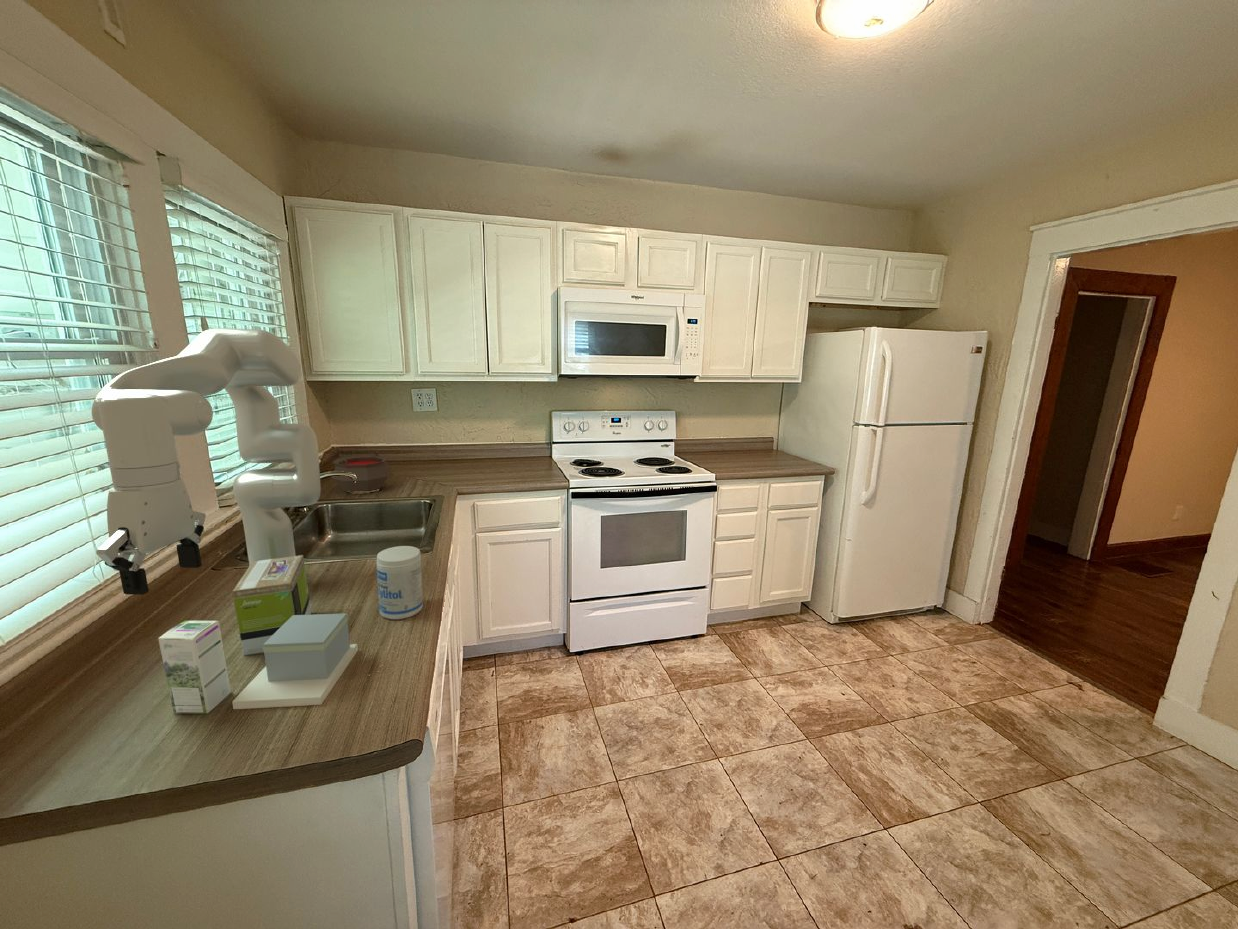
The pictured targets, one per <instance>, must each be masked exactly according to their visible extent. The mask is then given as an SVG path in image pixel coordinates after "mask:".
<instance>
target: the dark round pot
mask: <svg viewBox="0 0 1238 929" xmlns="http://www.w3.org/2000/svg"><path fill="white" fill-rule="evenodd" d="M379 454H380V451H378V449H374V451H373V454H371V455H370V454H368V455H367V454H364V455H363V454H361V455H360V454H358V455H352V456H350V455H349V456H345V457H341V458H340V457H339V458H337V459H336V460H334V461H332V464H333V465H334V469H333V472H334V471H344V472H352V473H355V474H356V475H357V481H356V483H354V482H353V480H352V479H351V478H350V477H348V476H344V475H340V476H332V475H331V477H330V478H331V480H332V481H333V482H335V483H336V485H338V487H339V488H340V489H341V490H342V491H343V492H345V491H350V492H354V491H372V490H377V489H380V488H381V487H382V488H383V487H384V485H385V483H386V482H387V480H388V479H389V477H390V476H391V474H392V472H393V470H392V469H391V467H390V466H389V463H388V462H387V460H388V459H389V457H388V456H385V455H384V456H382V455H379ZM382 488H381V489H382ZM381 489H380V490H381Z"/></svg>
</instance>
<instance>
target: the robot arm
mask: <svg viewBox="0 0 1238 929" xmlns="http://www.w3.org/2000/svg"><path fill="white" fill-rule="evenodd" d="M301 375H302V366H301V362H300V360H299V358H298V356H297V354H296V353H295V352H294V350H292V349H291V347H289V346H288V345H287V344H286V343H285V342H284V341H283V340H282V339H281V338H279V337H278V336H277V335H275V334H273V333H272V332H270V331H268V330H263V329H253V328H252V329H249V328H248V329H247V328H229V327H217V328H216V327H215V328H209V329H206V330H203V331H202V332H201V333H199V334H198V335H197V336H196V337H195V338H193V340H192V341H191V342H189V344H188V345H187V346H186V347H185V348H184V349H183V350H182V351H181V352H180V353H179V354H177V355H176V356H173V357H168V358H164V359H161V360H157V361H155V362H151V363H149V364H146V365H145V364H144V365H142V366H141V365H140V366H139V367H135V368H132V369H129V370H127V371H124V372H122V373H120V374H119V375H117V376H116V377H114V378H113V379H112V380H111V381H109V382H108V383H107V384H106V385H105V386H104V387H102V388H101V389H100V390H99V392H98V393H97V394H96V396H95V398H94V399H93V402H92V405H91V418H92V421H93V423H94V424H95V425H96V427H97V428H98V429H99V430H101V431H102V433H103V438H104V443H105V449H106V455H107V460H108V464H109V471H110V475H111V482H112V485H113V489H109V490H108V494H107V503H106V517H107V518H106V520H107V531H108V539H106V541H105V542H104V543H103V544H102V545H101V546H99V547H98V548H97V550H96V551H95V552H96V553H95V554H96V555H97V556H98V558H100V559H101V560H102V561H103V562H104V564H105V565H106V566H107V567H110V568H112V569H113V571H114V572H119V576H120V577H119V578H120V581H121V587H122V592H123V594H125V595H142V596H143V595H146V594H148V593H149V585H148V578H147V574H146V569H145V568H142V567H141V566H142V564H143V561H144V560H145V558H146V555H147V554H149V553H153V552H155V551H158V550H161V549H163V548H165V547H168V546H170V545H173V544H176V543H177V542H178V543H179V544H176V554H177V558H178V563H179V567H180V568H183V569H184V568H186V569H187V568H189V569H198V568H200V567H202V559H201V551H200V547H199V544H200V543H201V542H202V537H201V535H202V534H203V532H204V530H205V528H204V527H205V526H204V524H205V521H206V516H207V515H206V513H204V512H200V511H195V510H193V506H192V502H191V499H190V496H189V492H188V489H187V487H186V484H185V482H184V480H183V478H182V477H181V476H182V475H181V471H180V469H181V465H180V463H179V458H178V454H177V445H176V440H175V437H177V436H178V437H180V436H182V437H183V436H187V437H188V436H194V435H198V434H201V433H203V432H204V431H205V430H206V429H208V428H209V427H210V425H211V424H212V421H213V417H214V412H213V407H212V405H211V403H210V401H209V400H208V399H207V398H206V397H208V396H211V395H215V394H218V393H220V392H221V391H223V390H225V392H226V393H227V395H228V396H229V397H230V399H231V401H232V404H233V407H234V414H235V425H236V439H237V447H238V453H239V455H240V457H241V459H242V460H243V461H245V462H248V463H251V464H281V463H288V464H289V463H293V465H294V466H295V467H287V468H286V467H283V468H280V467H277V468H255V469H249V470H246V471H243V472H241V473H240V474H238V475H237V476H236V477H235V478H234V480H233V483H232V484H233V485H232V490H233V495H234V499H235V501H236V503H237V506H238V508H239V512H240V515H241V518H242V525H243V531H244V537H245V543H246V544H245V545H246V551H247V552H246V553H247V558H248V563H249V566H250V565H251V563H252V562H253V561H260V560H268V559H276V558H284V557H291V556H297V555H296V548H295V541H294V533H293V531H294V530H293V525H292V524H293V523H292V521H291V519H290V517H289V516H288V514H287V513H286V512H285V511H284V510H283V509H282V508H293V507H295V508H296V507H304V506H305V507H307V506H312V505H315V504H316V503H317V502H318V501H319V500H320V498H321V492H322V491H321V488H322V486H321V483H322V482H321V475H320V474H321V473H320V472H321V470H320V458H319V457H320V456H319V454H320V453H319V445H318V438H317V435H316V433H315V431H314V429H313V428H312V427H311V426H310V425H308V424H304V423H296V422H295V423H282V421H281V418H280V417H281V416H280V405H279V403H278V400H277V399H276V397H274V395H273V393H271V392H270V390H268V389H267V388H266V387H290V386H294V385H295V384H297V383H299V380H300V379H301V377H302V376H301ZM132 555H133V557H132V558H131V560H130V557H131V556H132ZM249 566H248V567H249Z"/></svg>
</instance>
